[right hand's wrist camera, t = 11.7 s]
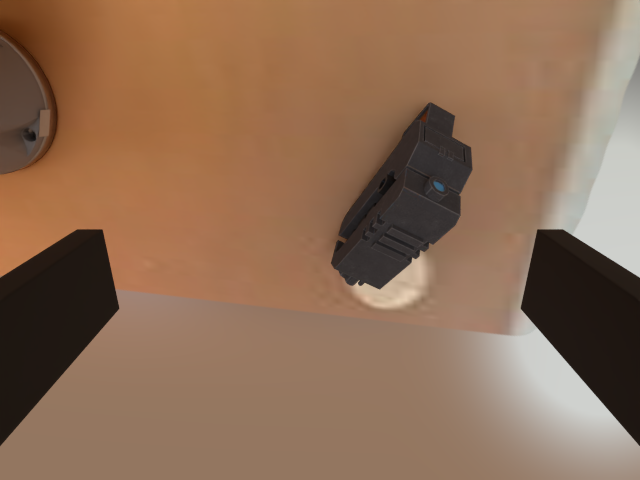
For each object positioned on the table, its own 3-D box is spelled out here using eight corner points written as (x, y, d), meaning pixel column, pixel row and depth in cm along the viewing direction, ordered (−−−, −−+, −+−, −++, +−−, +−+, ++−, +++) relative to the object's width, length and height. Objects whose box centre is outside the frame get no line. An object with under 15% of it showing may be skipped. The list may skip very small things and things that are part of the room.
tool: (474, 110, 41) (478, 214, 31) (379, 220, 55) (361, 314, 45) (422, 81, 40) (410, 179, 30) (339, 200, 54) (312, 293, 44)
